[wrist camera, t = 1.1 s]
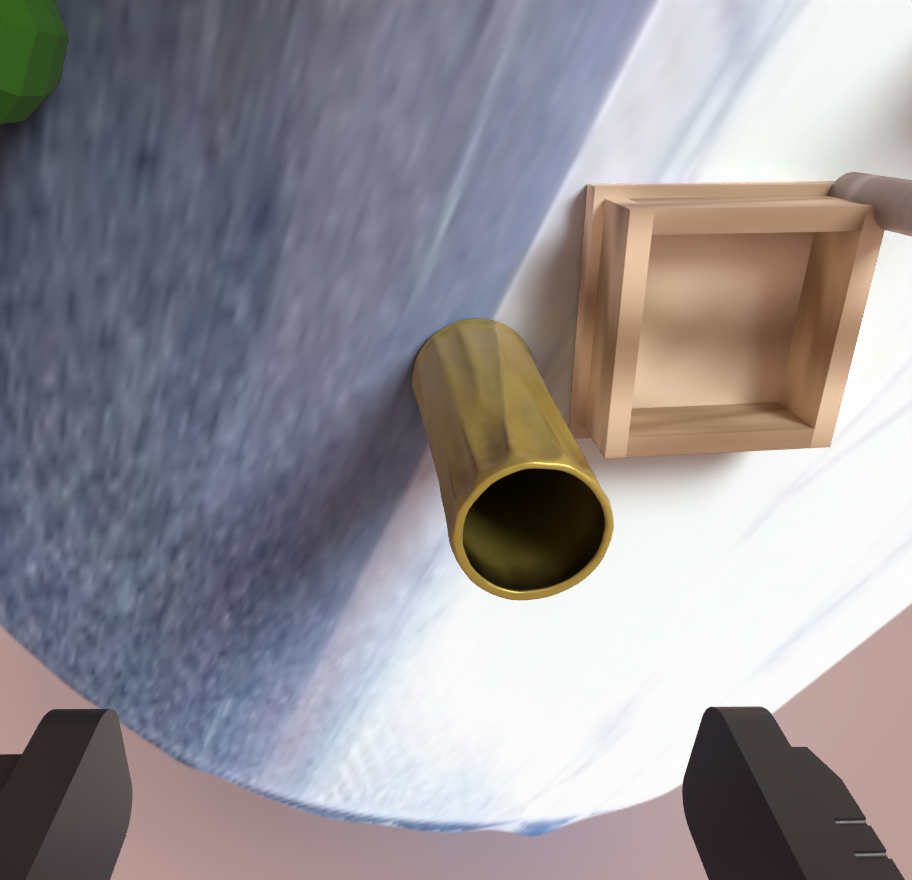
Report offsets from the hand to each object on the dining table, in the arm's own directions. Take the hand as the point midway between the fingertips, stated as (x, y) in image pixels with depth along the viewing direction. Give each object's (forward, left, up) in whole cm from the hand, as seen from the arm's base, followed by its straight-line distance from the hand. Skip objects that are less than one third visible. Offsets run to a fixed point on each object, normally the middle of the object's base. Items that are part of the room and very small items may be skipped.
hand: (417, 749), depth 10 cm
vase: (+4, +4, -26) cm, 27 cm away
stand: (+1, +15, -26) cm, 30 cm away
